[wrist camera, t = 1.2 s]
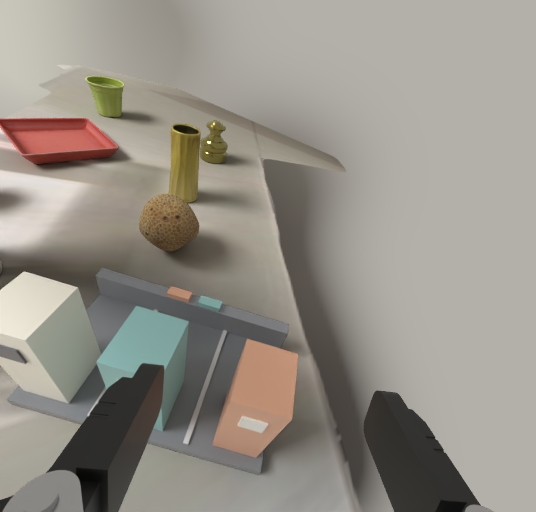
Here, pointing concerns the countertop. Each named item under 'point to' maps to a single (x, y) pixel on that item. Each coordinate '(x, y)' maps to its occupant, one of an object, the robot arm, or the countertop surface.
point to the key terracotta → (257, 399)
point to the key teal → (148, 353)
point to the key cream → (46, 336)
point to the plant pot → (107, 95)
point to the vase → (184, 161)
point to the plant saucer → (57, 139)
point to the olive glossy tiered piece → (214, 144)
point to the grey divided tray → (196, 365)
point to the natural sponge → (168, 222)
